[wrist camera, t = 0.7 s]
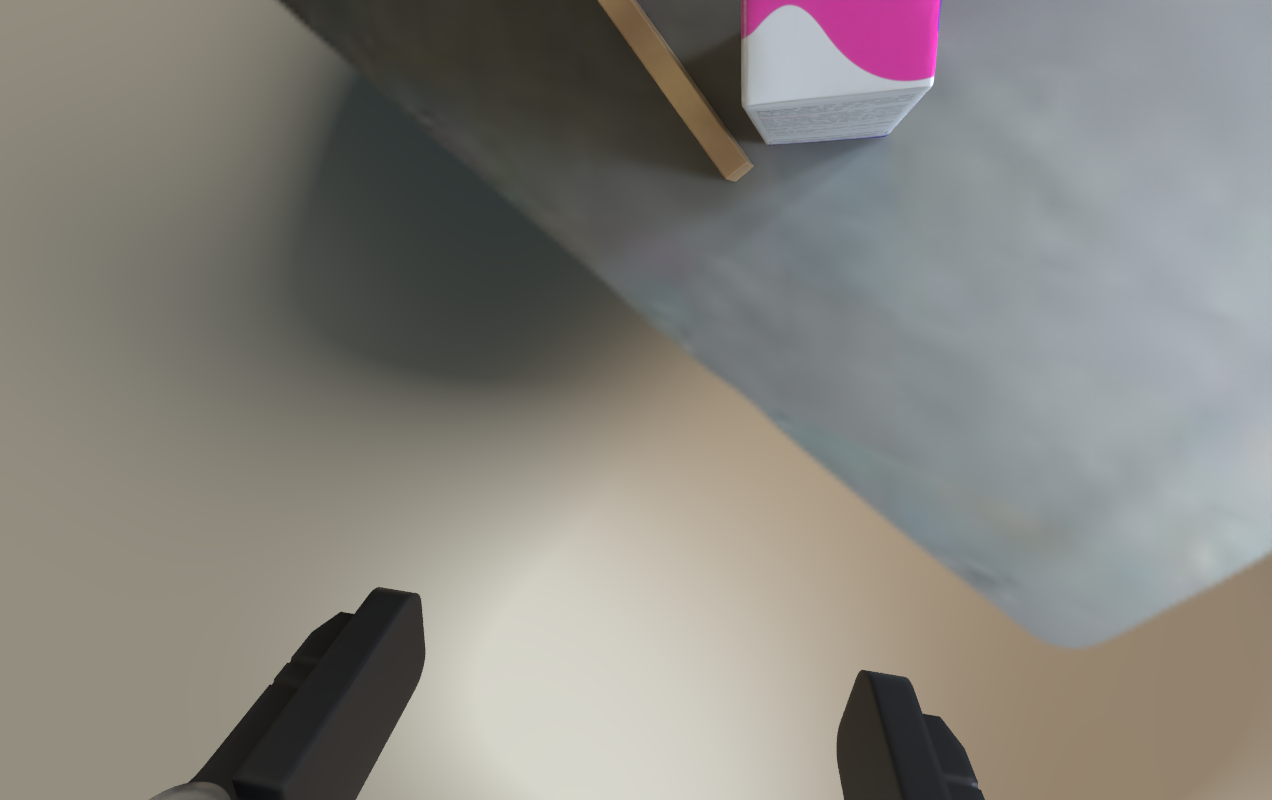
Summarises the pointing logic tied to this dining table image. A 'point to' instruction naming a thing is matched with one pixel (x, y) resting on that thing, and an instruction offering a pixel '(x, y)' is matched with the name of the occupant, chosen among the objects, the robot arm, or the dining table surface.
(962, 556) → the dining table surface
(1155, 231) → the dining table surface
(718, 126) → the corner fence
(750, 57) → the supplement box
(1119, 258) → the dining table surface
